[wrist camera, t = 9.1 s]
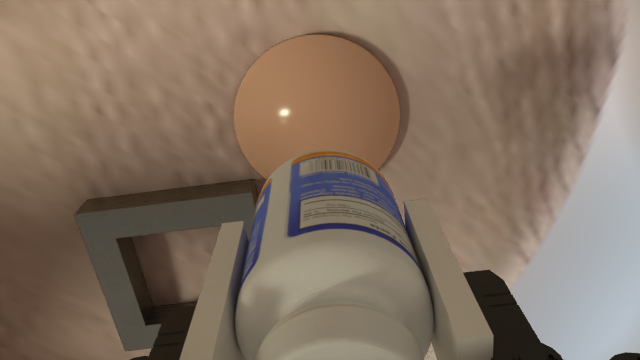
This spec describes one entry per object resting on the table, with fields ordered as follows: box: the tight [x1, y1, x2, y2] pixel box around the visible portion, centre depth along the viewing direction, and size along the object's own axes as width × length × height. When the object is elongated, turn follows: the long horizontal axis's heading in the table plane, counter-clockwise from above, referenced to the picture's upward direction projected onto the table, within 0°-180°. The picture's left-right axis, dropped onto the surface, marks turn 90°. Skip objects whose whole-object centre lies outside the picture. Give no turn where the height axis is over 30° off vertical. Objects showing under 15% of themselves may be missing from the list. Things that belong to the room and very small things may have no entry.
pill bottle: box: [235, 149, 434, 360], centre depth 15 cm, size 5×5×10 cm
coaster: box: [234, 34, 400, 180], centre depth 30 cm, size 10×10×1 cm
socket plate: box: [74, 179, 258, 351], centre depth 34 cm, size 11×11×2 cm
